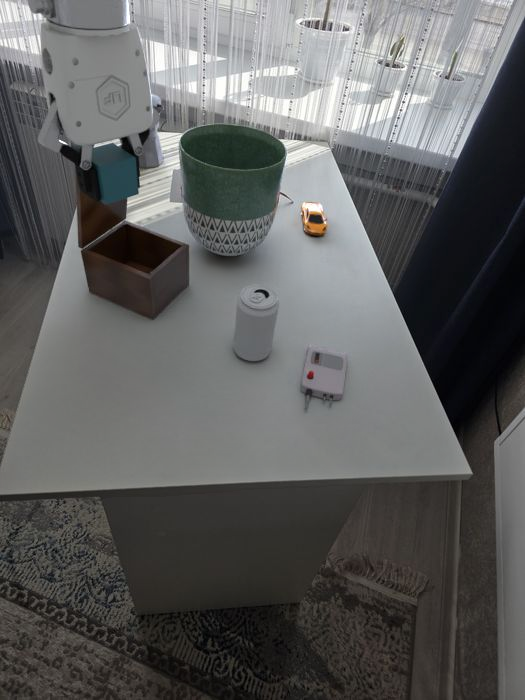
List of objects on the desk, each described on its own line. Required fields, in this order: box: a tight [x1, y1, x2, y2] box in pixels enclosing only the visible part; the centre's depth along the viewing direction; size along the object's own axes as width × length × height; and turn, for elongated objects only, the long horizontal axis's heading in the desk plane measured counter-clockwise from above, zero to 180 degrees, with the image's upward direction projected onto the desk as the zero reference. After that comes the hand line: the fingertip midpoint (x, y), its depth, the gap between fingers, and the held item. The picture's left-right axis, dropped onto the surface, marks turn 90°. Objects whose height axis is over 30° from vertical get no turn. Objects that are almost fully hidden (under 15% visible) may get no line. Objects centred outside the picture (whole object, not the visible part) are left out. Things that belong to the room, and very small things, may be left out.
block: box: [92, 142, 140, 205], centre depth 55 cm, size 5×5×5 cm
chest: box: [80, 219, 190, 321], centre depth 83 cm, size 14×12×9 cm
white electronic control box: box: [299, 344, 348, 410], centre depth 75 cm, size 7×16×3 cm, turn 168°
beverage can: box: [232, 283, 280, 362], centre depth 74 cm, size 6×6×12 cm
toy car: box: [300, 201, 329, 237], centre depth 108 cm, size 6×12×3 cm, turn 2°
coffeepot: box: [139, 93, 165, 169], centre depth 116 cm, size 15×9×18 cm, turn 58°
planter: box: [178, 123, 288, 257], centre depth 91 cm, size 20×20×21 cm
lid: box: [74, 144, 128, 250], centre depth 76 cm, size 15×12×1 cm
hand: (111, 188), depth 56 cm, fingers closed on block, 4 cm apart
